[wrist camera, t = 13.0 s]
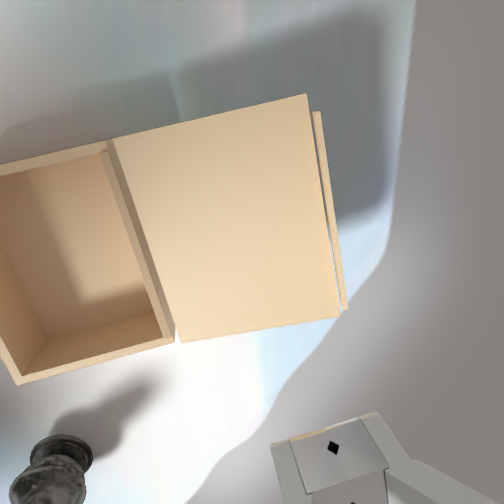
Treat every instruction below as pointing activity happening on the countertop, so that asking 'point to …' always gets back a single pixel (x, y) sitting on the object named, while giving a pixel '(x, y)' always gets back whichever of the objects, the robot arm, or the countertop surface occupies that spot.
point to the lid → (238, 218)
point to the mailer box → (74, 265)
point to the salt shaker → (54, 473)
